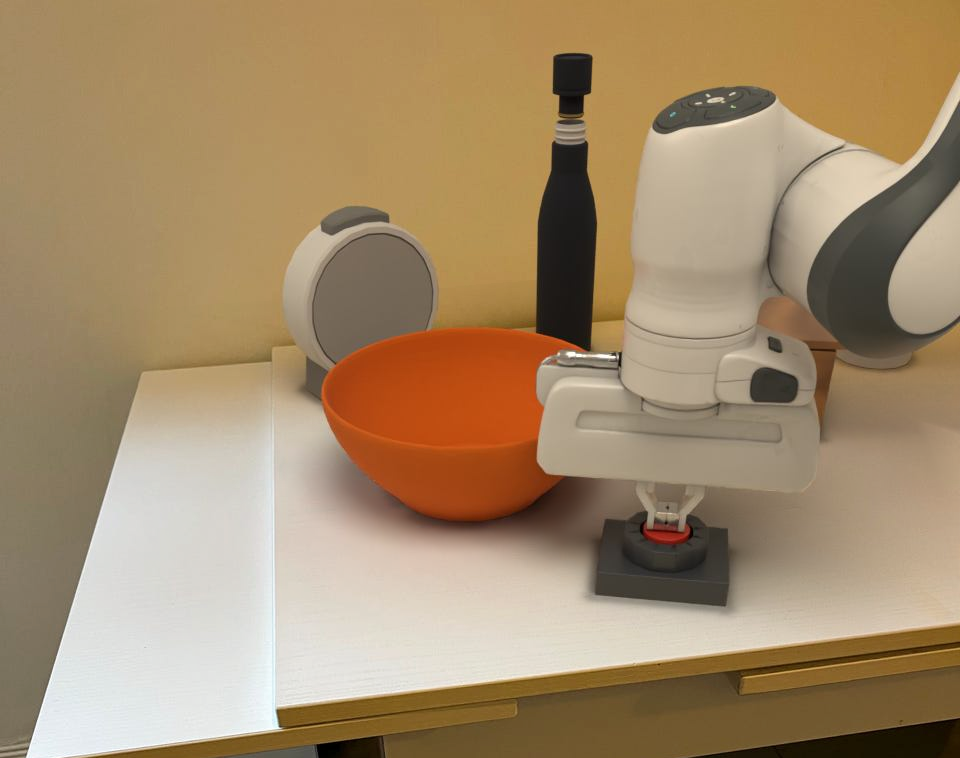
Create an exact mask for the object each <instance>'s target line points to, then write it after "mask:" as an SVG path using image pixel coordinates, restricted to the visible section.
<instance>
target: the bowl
mask: <svg viewBox="0 0 960 758" xmlns="http://www.w3.org/2000/svg"><path fill="white" fill-rule="evenodd" d="M563 349H572V350H577V351H582V352H587V351H585V350H583V349H582V348H580V347H578V346H576V345H573V344H571V343H568V342H566V341H563V340H560V339H557V338H553V337H550V336H546V335H542V334H537V333H536V332H533V331H526V330H519V329H512V328H504V327H503V328H502V327H486V326H485V327H483V326H473V327H472V326H468V327H467V326H466V327H445V328H437V329H432V330H427V331H420V332H415V333H410V334H405V335H400V336H396V337H392V338H389V339H385V340H382V341H379V342H376V343H373V344H371V345H368V346H366V347H364V348H361V349H359V350H357V351H355V352H353V353H352V354H350V355H348V356H347V357H345V358H344V359H342V360H341V361H340V362H339V363H337V364H336V365H335V366H334V367H333V368H332V369H331V370H330V372H329V373H328V374H327V375H326V377H325V379H324V382H323V385H322V390H321V399H322V400H321V399H320V400H321V404H322V410H323V413H324V415H325V418H326V422H327V423H328V425H329V428H330V430H331V432H332V434H333V435H334V437H335V439H336V441H337V442H338V443H339V445H340V446H341V448H342V449H343V451H344V452H345V454H346V455H347V456H348V457H349V459H350V460H351V461H352V462H353V463H354V464H355V465H356V467H357V468H359V469H360V470H361V471H362V472H363V473H364V474H365V475H366V476H367V477H368V478H370V480H372V481H373V482H374V483H375V484H377V485H378V486H379V487H381V488H382V489H383V490H385V491H386V492H388V493H389V494H391V495H392V496H394V497H395V498H397V499H398V500H399V501H401V502H402V503H403V504H404V505H405V506H406V507H408V508H410V509H411V510H413V512H414V511H415V512H417V513H419V514H421V515H424V516H426V517H430V518H434V519H439V520H443V521H451V522H483V521H491V520H496V519H501V518H504V517H507V516H511V515H513V514H516V513H518V512H520V511H523V510H525V509H527V508H528V507H529V506H531V505H533V503H535V502H536V501H537V500H538V499H539V498H540V497H541V496H542V495H543V494H546V492H548V491H549V490H550V489H552V488H553V487H554V486H556V485H557V484H558V483H559V482H560V481H561V480H563V479H564V478H565V477H566V476H563V475H551V474H547V473H545V472H544V470H543V469H542V468H541V467H540V465H539V464H538V463H537V446H538V437H539V431H540V425H541V420H542V415H543V411H544V407H543V406H542V405H541V403H540V402H539V400H538V399H537V396H536V371H537V368H538V366H539V364H540V363H541V362H542V361H543V360H544V359H545V358H547V357H549V356H551V355H555V354H557V353H558V350H563ZM550 363H557V360H555V361H552V362H550Z"/></svg>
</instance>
